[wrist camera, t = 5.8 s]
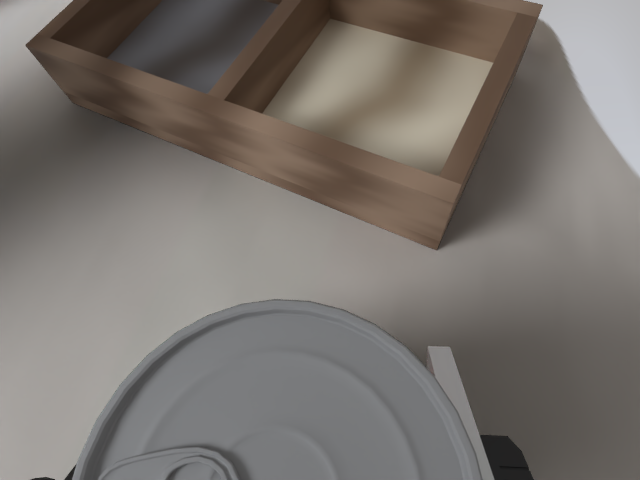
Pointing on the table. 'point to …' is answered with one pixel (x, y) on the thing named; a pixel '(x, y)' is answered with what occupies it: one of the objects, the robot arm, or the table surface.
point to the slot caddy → (306, 90)
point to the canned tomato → (279, 405)
